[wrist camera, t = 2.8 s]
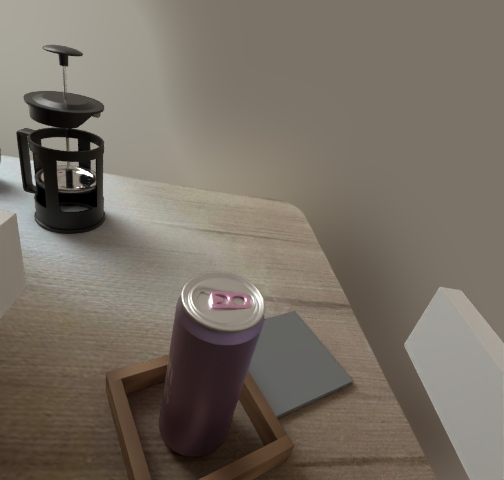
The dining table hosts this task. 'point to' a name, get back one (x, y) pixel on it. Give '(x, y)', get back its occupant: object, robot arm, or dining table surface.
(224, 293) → the beverage can
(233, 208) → the dining table surface
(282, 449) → the walnut holder
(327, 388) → the slate coaster
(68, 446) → the dining table surface
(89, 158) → the french press
